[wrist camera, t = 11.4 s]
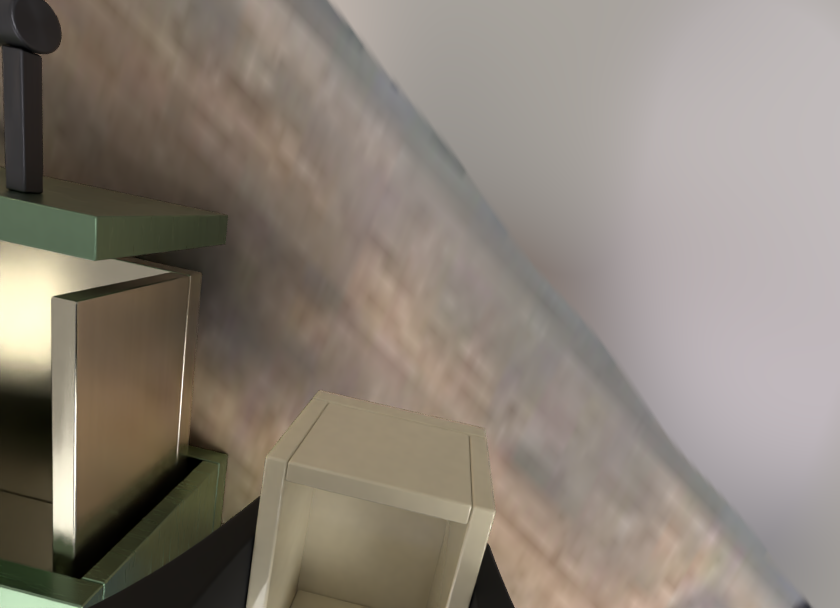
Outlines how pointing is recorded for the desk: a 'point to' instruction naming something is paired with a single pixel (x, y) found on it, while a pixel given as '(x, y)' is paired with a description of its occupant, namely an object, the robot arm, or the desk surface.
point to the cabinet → (130, 544)
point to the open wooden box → (371, 510)
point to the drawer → (85, 336)
